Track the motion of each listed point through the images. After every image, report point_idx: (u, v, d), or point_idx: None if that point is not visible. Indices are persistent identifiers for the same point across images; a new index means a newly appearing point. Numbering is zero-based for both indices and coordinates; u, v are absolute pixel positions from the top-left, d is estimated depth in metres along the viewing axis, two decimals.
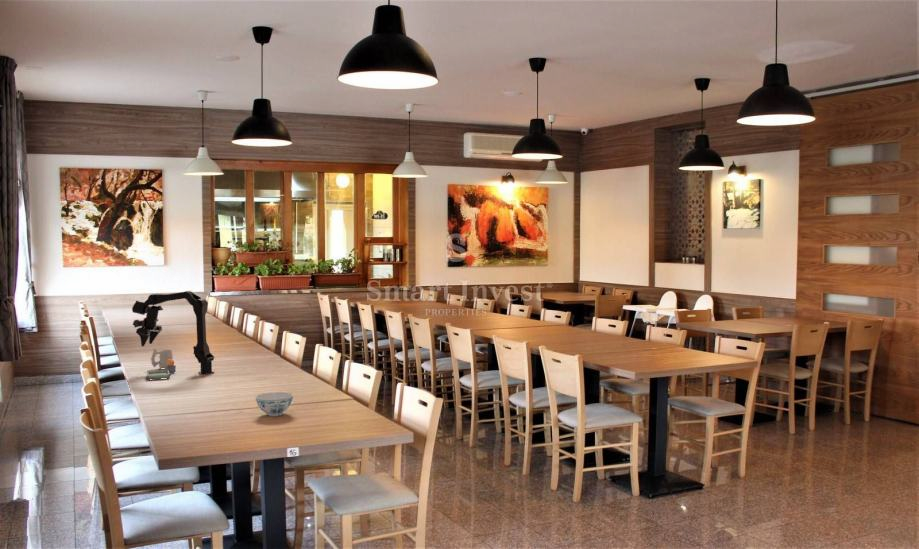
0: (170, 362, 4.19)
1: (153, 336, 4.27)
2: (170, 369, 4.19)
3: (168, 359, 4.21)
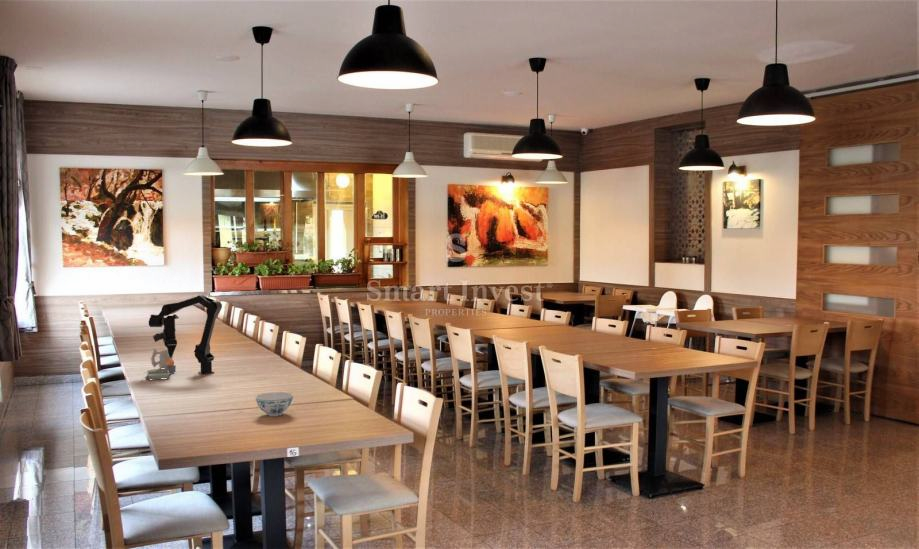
0: (170, 362, 4.19)
1: None
2: (170, 369, 4.19)
3: (168, 359, 4.21)
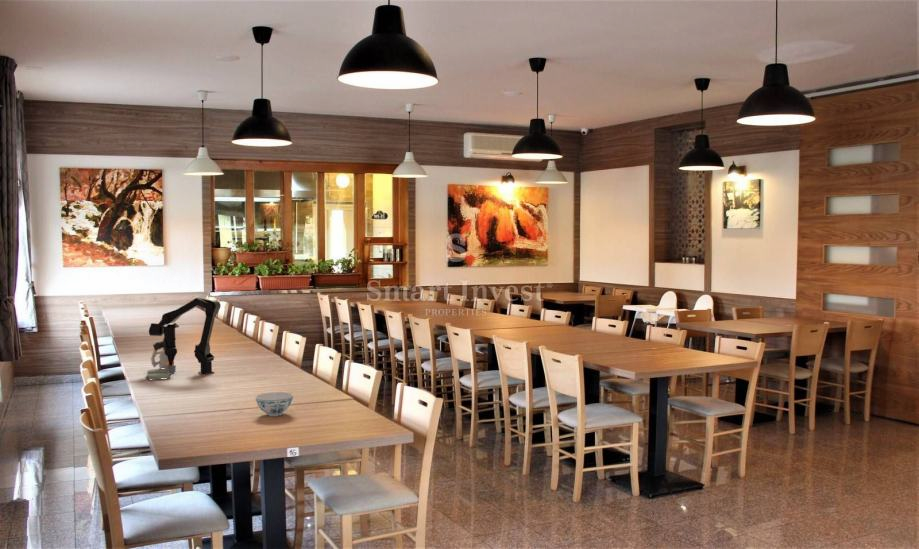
0: None
1: None
2: (170, 369, 4.19)
3: None
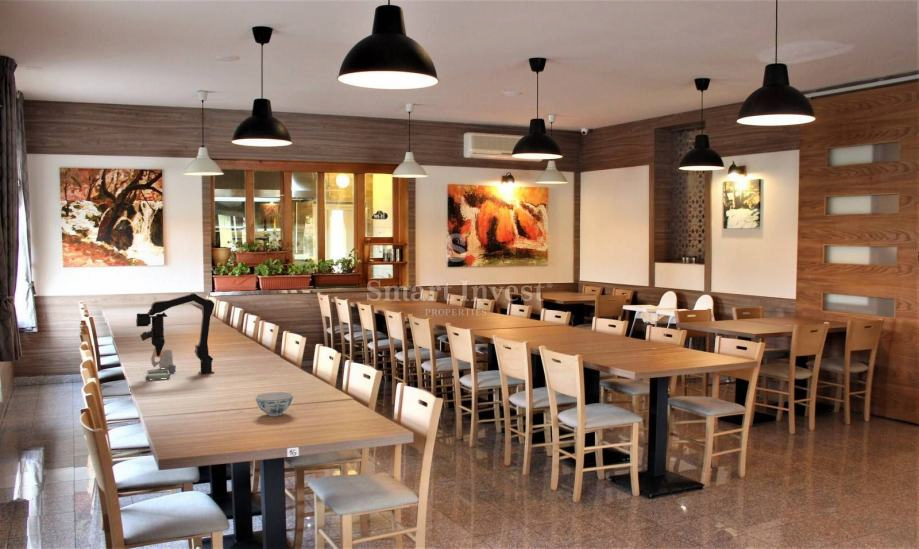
0: None
1: None
2: (170, 369, 4.19)
3: None
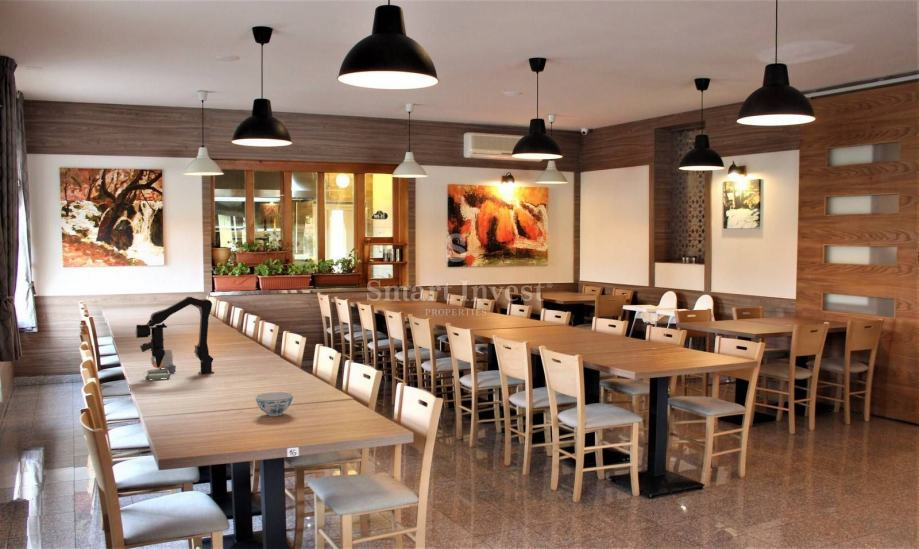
0: None
1: None
2: (170, 369, 4.19)
3: None
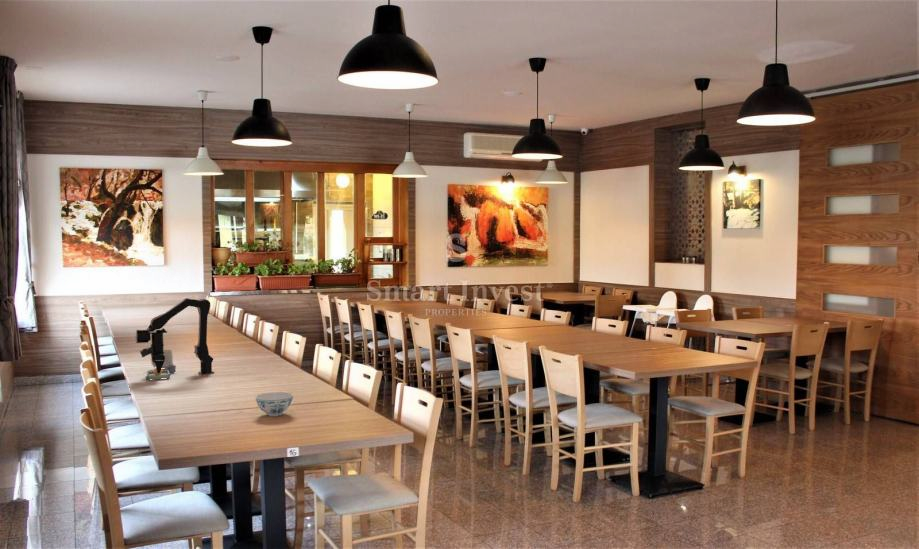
0: None
1: None
2: (170, 369, 4.19)
3: None
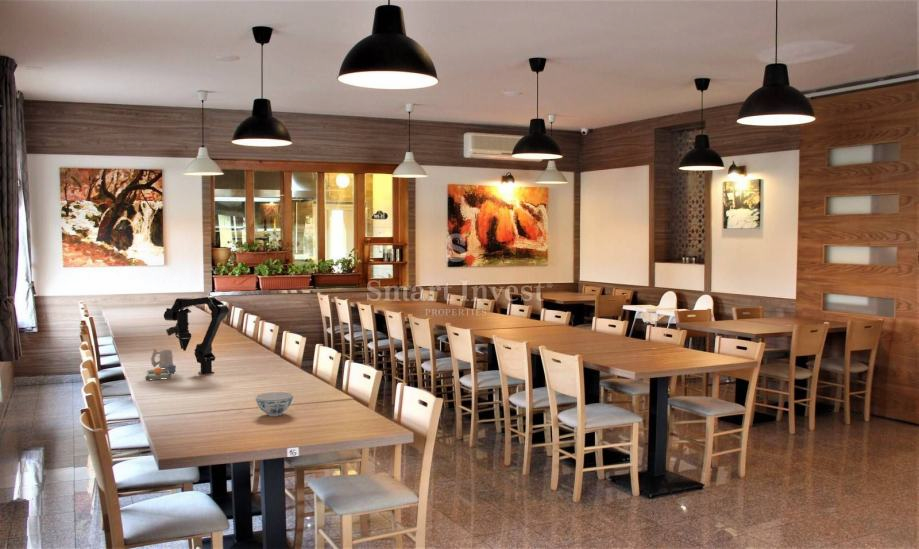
0: (158, 371, 4.06)
1: None
2: (170, 369, 4.19)
3: (156, 368, 4.07)
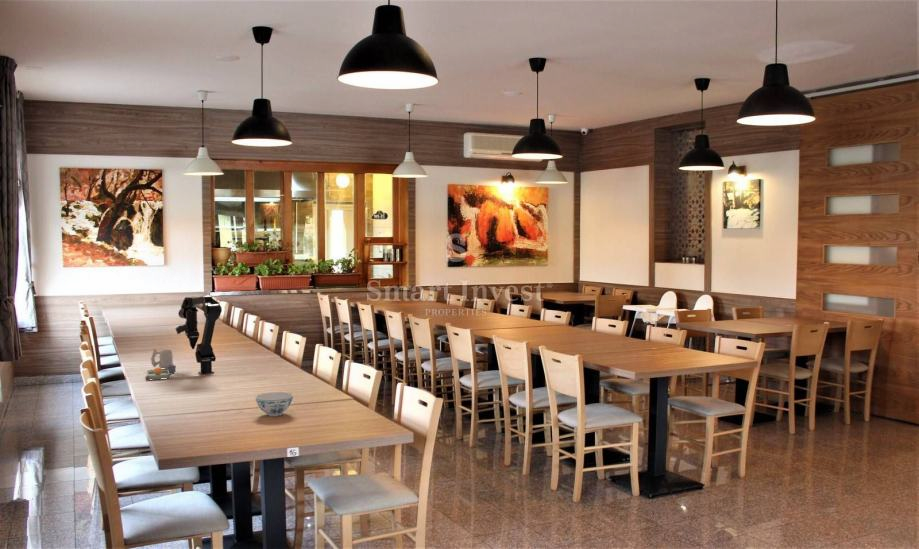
0: (158, 370, 4.06)
1: None
2: (170, 369, 4.19)
3: (156, 368, 4.07)
